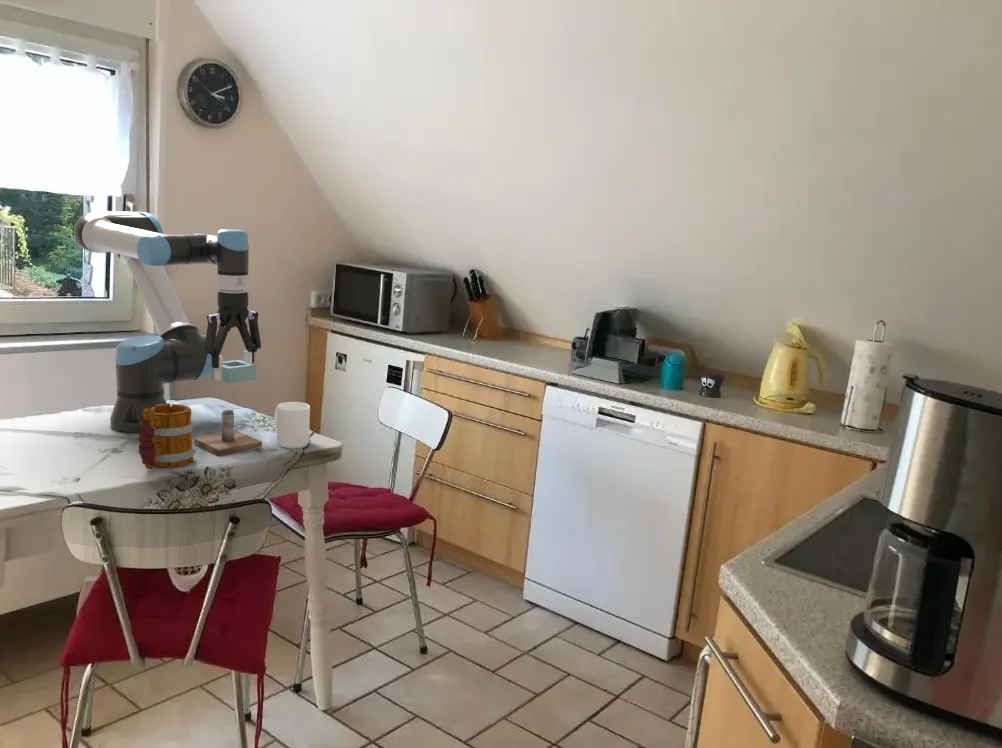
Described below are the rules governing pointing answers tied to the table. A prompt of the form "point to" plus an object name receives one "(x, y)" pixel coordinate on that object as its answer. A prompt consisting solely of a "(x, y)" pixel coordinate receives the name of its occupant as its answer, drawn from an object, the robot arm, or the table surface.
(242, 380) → the ring
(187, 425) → the mug
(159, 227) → the robot arm
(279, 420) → the cup
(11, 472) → the table surface
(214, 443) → the post block
